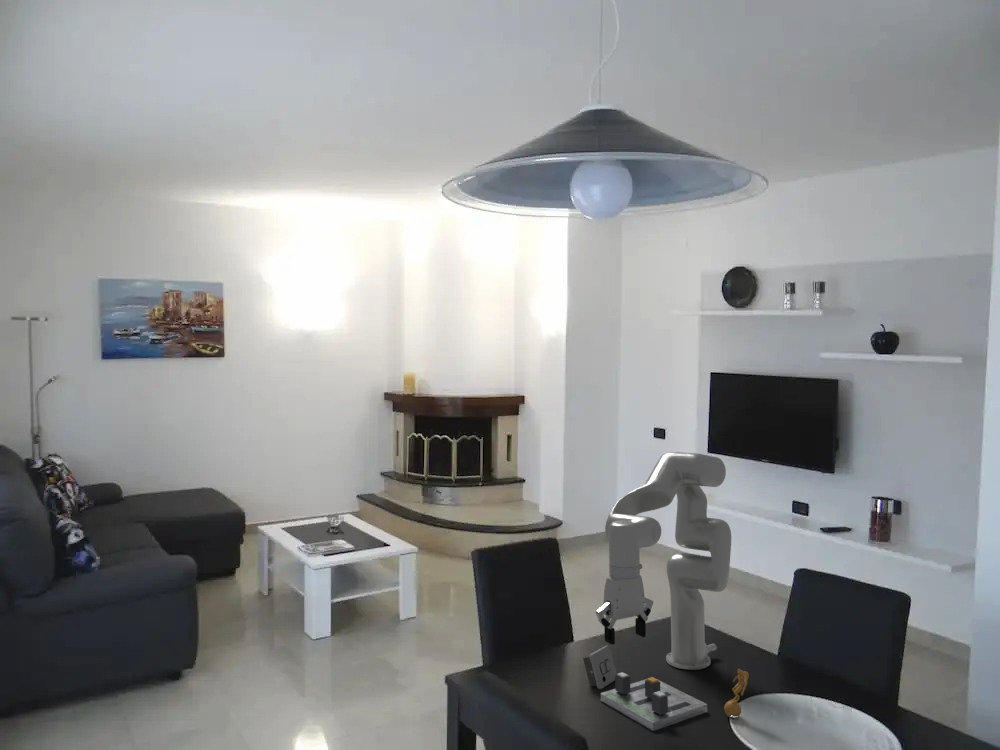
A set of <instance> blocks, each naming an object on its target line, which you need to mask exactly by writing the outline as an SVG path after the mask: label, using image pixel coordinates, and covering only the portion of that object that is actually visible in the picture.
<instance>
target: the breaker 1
mask: <svg viewBox="0 0 1000 750" xmlns="http://www.w3.org/2000/svg"><path fill="white" fill-rule="evenodd" d="M614 682H615V683H614V684H615V685H614V686H615V688H614V689H615V690H616V691H618V692H620V693H622V694H625V693H629V692H630V684H631V676H630V675H629V674H627V673H625V672H623V671H622V672H619V673H617V674H616V675H615V680H614Z"/></svg>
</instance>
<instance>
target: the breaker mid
mask: <svg viewBox="0 0 1000 750" xmlns="http://www.w3.org/2000/svg"><path fill="white" fill-rule="evenodd" d="M646 679H647V680H645V679H644V680H645V696H646V697H648V698H650V699H652V693H655V692H658V691H660V682H659V681H660V680H659V679H657V678H655V677H653V676H651V677H648V678H646ZM658 680H659V681H658Z"/></svg>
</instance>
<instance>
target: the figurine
mask: <svg viewBox="0 0 1000 750" xmlns="http://www.w3.org/2000/svg"><path fill="white" fill-rule="evenodd" d="M749 675H750V674H749V672H747V671H745V670H742V669H740V668H738V669H737V675H736V676H735V677H734V679H733V680H732V683H735V681H736V680H737V679H738V682H737V683H736V684H735V685H734V687H733V688H731V689H732V692H733V694H734V695H735V697H733V698H731V699H730V700H728V701H726V702H725V704H724V708H723V710H724V713H725V715H726V716H727V717H729V718H731V717H730V716H731V715H733V716H738V717H739V716H740V715H741V713H742V707H741V705H740V704H739V702H738V701H740V696H741V697H743V696H744V693H745V690H746V688H747V686H748V679H749V677H750V676H749ZM739 693H740V695H739Z"/></svg>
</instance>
